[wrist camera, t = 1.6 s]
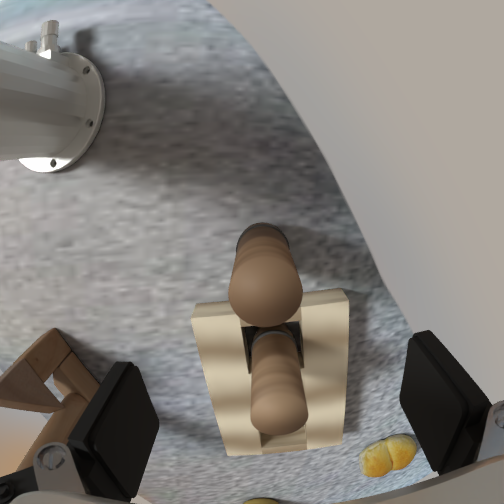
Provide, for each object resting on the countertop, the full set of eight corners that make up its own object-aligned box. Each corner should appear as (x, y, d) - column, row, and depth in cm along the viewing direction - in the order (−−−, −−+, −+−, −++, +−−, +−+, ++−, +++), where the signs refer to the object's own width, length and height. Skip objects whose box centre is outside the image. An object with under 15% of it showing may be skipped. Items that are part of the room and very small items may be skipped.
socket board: (196, 303, 30) (190, 318, 28) (340, 287, 30) (348, 300, 27) (229, 438, 36) (227, 455, 33) (337, 427, 35) (341, 444, 32)
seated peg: (249, 316, 31) (245, 399, 19) (292, 311, 30) (309, 392, 19) (254, 351, 32) (252, 438, 20) (294, 347, 32) (310, 432, 20)
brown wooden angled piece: (55, 325, 32) (-34, 418, 14) (109, 392, 34) (51, 501, 17) (40, 335, 32) (-43, 422, 15) (91, 399, 35) (35, 499, 18)
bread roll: (410, 453, 38) (418, 471, 34) (358, 470, 39) (363, 489, 35) (415, 423, 36) (425, 442, 32) (357, 443, 37) (363, 463, 33)
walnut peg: (235, 220, 28) (221, 262, 17) (283, 214, 28) (301, 252, 16) (241, 265, 29) (232, 332, 18) (287, 260, 29) (306, 324, 18)
